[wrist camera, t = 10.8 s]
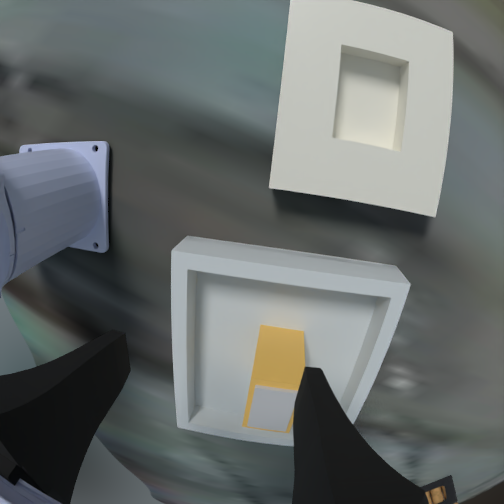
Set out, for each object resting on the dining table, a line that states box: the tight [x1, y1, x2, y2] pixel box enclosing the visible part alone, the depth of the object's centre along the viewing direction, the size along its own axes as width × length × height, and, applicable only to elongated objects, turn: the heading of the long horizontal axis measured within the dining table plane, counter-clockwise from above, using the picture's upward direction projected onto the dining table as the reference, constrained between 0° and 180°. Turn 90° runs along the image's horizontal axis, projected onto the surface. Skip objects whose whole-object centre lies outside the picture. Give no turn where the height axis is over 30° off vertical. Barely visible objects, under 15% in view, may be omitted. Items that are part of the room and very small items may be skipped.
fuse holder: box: [269, 0, 453, 217], centre depth 15 cm, size 10×12×2 cm
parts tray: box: [171, 236, 411, 446], centre depth 21 cm, size 14×16×3 cm
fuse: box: [242, 324, 305, 433], centre depth 19 cm, size 3×4×6 cm, turn 172°
